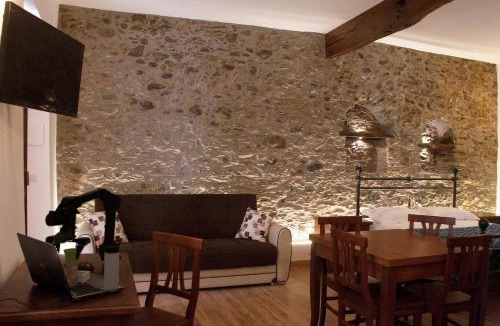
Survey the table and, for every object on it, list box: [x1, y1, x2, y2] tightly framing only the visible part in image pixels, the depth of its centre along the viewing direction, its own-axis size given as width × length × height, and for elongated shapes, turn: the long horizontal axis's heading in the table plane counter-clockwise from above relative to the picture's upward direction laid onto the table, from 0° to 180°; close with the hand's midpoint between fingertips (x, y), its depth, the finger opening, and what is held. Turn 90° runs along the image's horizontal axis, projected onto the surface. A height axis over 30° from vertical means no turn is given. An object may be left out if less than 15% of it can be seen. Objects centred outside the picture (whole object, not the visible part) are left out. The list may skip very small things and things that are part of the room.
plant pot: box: [63, 247, 81, 267], centre depth 224 cm, size 9×9×9 cm
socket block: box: [77, 270, 91, 283], centre depth 194 cm, size 8×8×4 cm
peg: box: [64, 265, 79, 286], centre depth 186 cm, size 4×4×9 cm
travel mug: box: [103, 243, 121, 293], centre depth 184 cm, size 6×7×20 cm
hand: (67, 259), depth 187 cm, fingers open, 9 cm apart
